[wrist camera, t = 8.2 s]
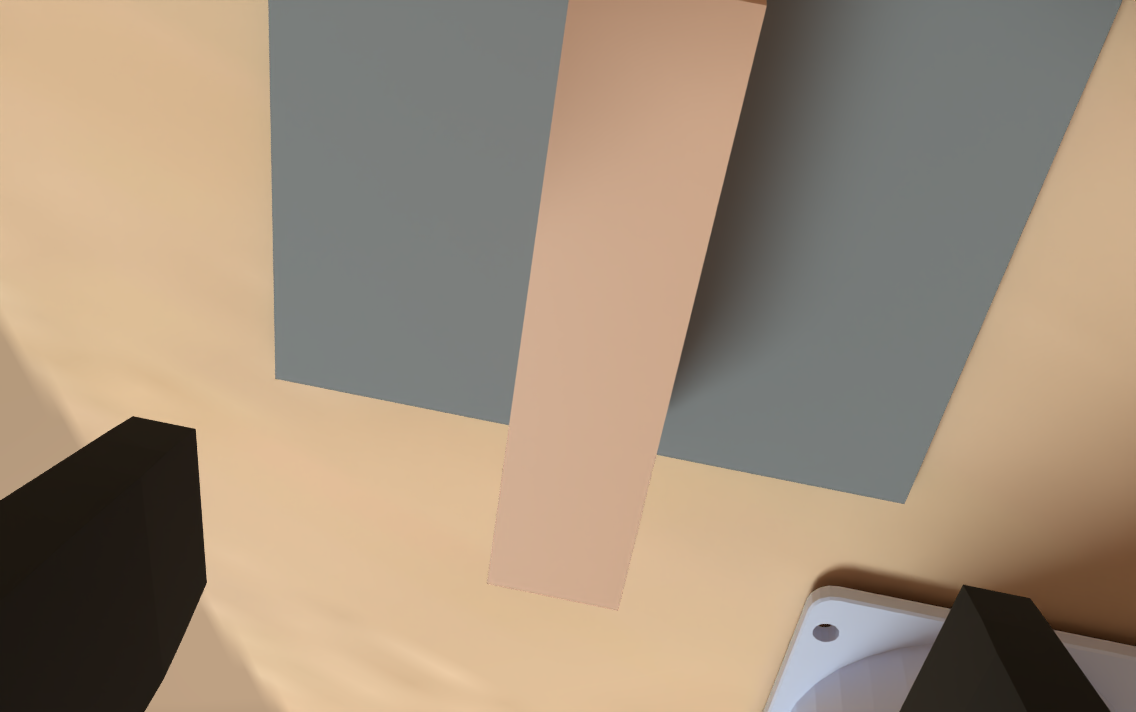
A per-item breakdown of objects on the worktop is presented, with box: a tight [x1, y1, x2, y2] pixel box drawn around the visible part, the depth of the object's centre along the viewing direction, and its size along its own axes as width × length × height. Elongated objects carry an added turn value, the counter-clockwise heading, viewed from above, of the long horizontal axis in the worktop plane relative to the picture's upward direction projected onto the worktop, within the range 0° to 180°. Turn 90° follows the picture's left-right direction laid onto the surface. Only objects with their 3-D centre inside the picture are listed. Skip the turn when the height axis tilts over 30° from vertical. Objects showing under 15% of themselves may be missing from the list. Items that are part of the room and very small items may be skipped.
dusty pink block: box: [487, 0, 767, 611], centre depth 15 cm, size 9×2×4 cm, turn 172°
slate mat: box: [268, 0, 1122, 504], centre depth 17 cm, size 10×12×1 cm
